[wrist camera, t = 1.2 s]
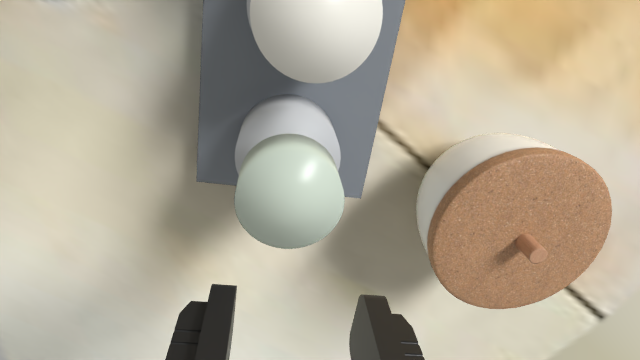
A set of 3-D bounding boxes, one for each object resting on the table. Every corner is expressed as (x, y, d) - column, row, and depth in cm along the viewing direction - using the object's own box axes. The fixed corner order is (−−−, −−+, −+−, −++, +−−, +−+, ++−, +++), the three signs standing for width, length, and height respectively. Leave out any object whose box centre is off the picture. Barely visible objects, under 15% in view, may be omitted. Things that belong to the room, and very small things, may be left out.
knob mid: (259, -66, 16) (256, -73, 14) (381, -43, 17) (396, -46, 15) (248, 63, 18) (244, 74, 16) (358, 79, 19) (367, 91, 17)
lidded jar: (562, 124, 30) (674, 180, 21) (506, 248, 34) (581, 336, 26) (420, 100, 28) (481, 151, 20) (382, 234, 32) (418, 322, 24)
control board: (221, -282, 19) (202, -363, 15) (444, -224, 21) (489, -281, 16) (201, 169, 29) (187, 203, 24) (356, 185, 30) (369, 220, 26)
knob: (243, 127, 20) (238, 145, 17) (346, 140, 20) (353, 158, 18) (235, 218, 22) (230, 244, 20) (329, 226, 22) (334, 252, 20)
